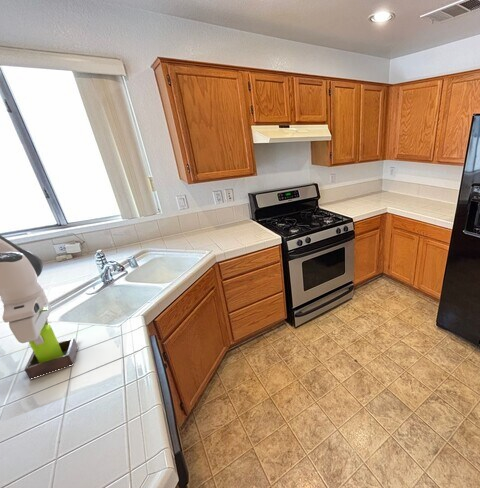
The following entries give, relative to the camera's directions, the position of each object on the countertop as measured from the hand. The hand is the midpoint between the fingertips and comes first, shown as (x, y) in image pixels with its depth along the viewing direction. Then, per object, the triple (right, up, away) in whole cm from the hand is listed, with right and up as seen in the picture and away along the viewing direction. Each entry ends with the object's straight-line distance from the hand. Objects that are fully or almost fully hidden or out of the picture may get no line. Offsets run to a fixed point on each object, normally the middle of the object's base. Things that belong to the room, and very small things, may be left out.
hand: (43, 336), depth 88 cm
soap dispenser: (0, -10, +4) cm, 10 cm away
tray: (0, -10, +4) cm, 11 cm away
